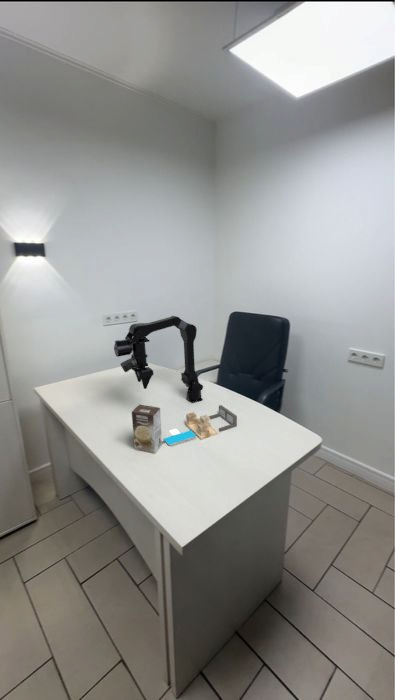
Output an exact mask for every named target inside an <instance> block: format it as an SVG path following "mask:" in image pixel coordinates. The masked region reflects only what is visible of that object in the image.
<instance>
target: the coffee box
mask: <svg viewBox="0 0 395 700" xmlns="http://www.w3.org/2000/svg"><path fill="white" fill-rule="evenodd" d="M161 418H162V417H161V408H160V407H157V406H152V405H150V406H149V405H147V404H146V405H144V404H140V403H139V404H138V405H137V406H136V407H135V408H134V409H133V410H132V411H131V420H132V432H133V433H132V434H133V445H134V450H136V451H142V452H147V453H151V454H156V453H157V452H158V450H159V449H160V448H161V447H162V445H163V444H162V441H163V438H162V420H161Z"/></svg>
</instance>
